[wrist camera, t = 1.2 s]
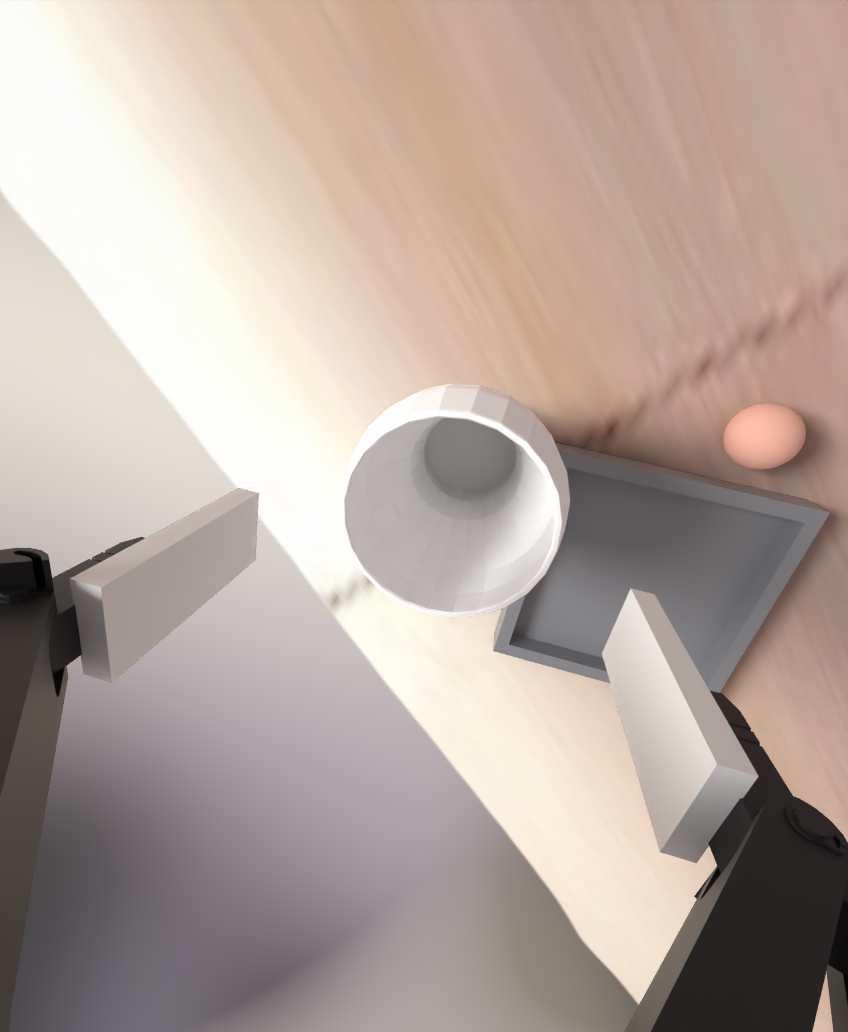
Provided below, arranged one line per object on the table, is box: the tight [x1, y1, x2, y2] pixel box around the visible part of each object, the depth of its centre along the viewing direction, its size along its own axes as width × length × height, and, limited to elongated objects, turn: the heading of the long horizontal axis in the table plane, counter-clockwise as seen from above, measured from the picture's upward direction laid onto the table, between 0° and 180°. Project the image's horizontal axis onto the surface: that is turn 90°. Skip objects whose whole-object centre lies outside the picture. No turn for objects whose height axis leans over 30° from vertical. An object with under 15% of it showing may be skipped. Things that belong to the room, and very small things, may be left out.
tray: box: [493, 442, 830, 693], centre depth 33 cm, size 17×17×2 cm
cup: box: [340, 383, 570, 618], centre depth 26 cm, size 11×11×15 cm
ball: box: [723, 403, 806, 470], centre depth 27 cm, size 4×4×4 cm
